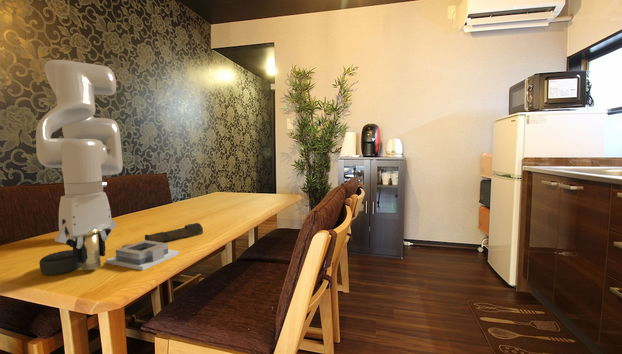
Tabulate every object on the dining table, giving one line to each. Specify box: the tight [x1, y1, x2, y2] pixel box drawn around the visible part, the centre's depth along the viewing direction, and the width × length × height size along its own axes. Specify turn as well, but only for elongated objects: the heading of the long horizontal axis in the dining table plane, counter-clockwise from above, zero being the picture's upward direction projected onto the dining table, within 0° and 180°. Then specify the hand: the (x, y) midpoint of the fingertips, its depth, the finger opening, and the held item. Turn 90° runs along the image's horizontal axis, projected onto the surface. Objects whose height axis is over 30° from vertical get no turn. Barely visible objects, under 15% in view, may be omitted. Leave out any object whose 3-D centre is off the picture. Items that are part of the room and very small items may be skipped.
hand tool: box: [144, 222, 204, 243], centre depth 99 cm, size 19×4×5 cm, turn 132°
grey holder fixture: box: [115, 239, 169, 265], centre depth 81 cm, size 14×9×3 cm, turn 69°
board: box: [105, 248, 180, 271], centre depth 82 cm, size 14×12×1 cm
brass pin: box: [80, 229, 102, 271], centre depth 74 cm, size 5×5×10 cm
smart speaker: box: [38, 249, 81, 276], centre depth 76 cm, size 9×9×4 cm
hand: (90, 258), depth 74 cm, fingers closed on brass pin, 4 cm apart
